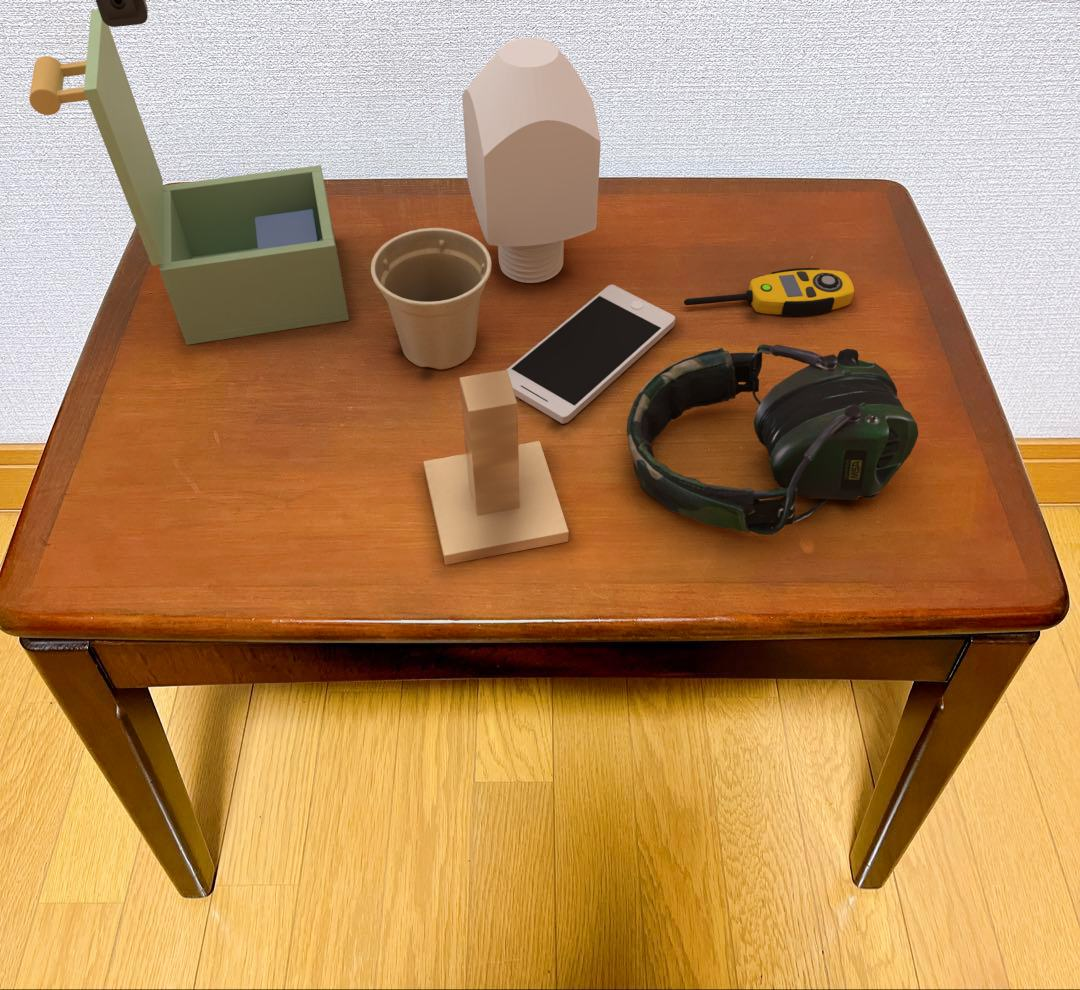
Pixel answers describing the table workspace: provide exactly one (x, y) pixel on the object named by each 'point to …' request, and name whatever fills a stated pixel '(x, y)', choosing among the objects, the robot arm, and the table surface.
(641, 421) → the headphones
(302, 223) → the block
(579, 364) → the smartphone
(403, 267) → the flower pot
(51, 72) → the lid
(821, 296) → the yellow walkie talkie
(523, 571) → the table surface
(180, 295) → the chest
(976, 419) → the table surface
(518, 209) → the light fixture
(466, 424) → the post
